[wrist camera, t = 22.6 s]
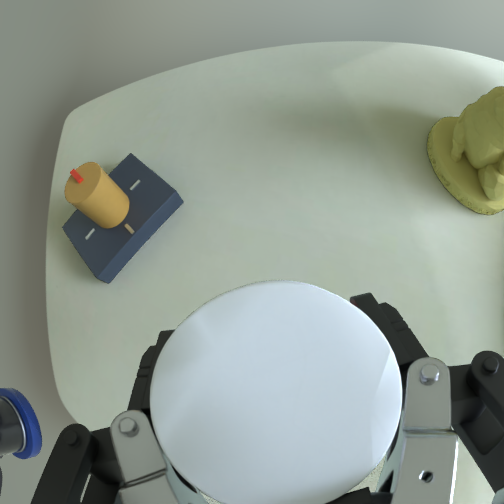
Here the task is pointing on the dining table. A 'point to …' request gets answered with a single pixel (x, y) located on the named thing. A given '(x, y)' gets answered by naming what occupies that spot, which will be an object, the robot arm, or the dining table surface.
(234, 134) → the dining table surface
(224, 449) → the pill bottle
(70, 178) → the tan cylinder
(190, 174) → the dining table surface
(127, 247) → the dial base block
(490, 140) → the figurine
